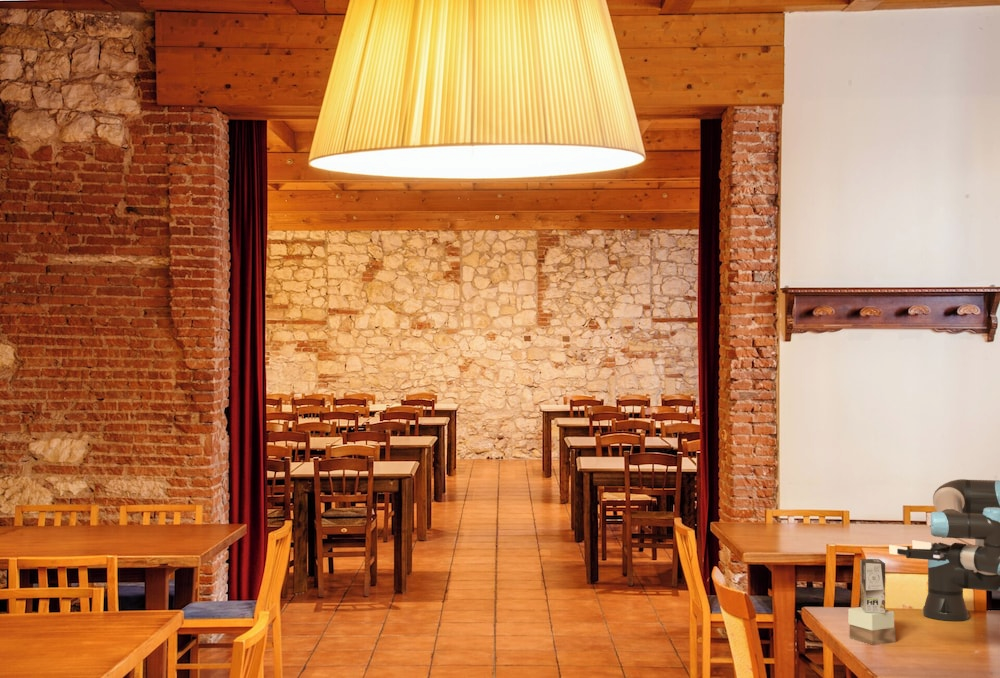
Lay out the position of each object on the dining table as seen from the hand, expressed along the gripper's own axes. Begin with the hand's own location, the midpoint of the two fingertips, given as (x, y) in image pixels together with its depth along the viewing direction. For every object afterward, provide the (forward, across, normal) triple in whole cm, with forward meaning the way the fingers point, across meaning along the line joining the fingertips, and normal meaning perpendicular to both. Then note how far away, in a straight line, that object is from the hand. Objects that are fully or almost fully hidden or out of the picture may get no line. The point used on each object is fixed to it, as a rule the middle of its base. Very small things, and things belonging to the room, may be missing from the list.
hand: (901, 546), depth 332 cm
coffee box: (+11, +1, -22) cm, 25 cm away
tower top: (+11, 0, -27) cm, 30 cm away
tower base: (+11, 0, -32) cm, 34 cm away
